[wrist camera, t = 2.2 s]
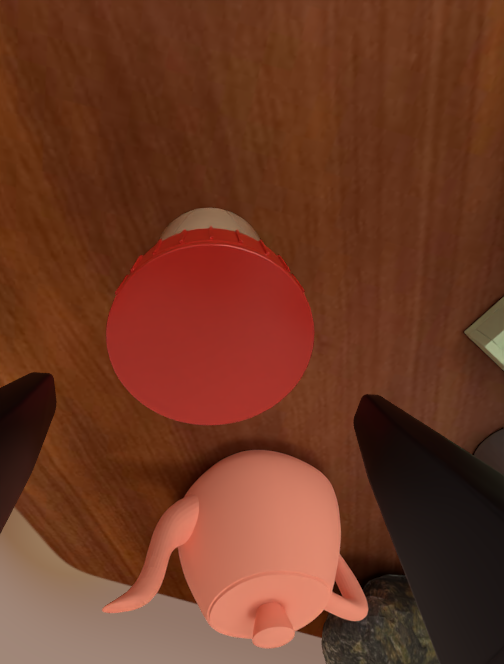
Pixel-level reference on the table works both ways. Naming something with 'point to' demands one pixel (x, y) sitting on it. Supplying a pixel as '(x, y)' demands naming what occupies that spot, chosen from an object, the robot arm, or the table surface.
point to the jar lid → (210, 328)
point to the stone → (381, 629)
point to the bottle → (492, 451)
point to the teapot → (254, 549)
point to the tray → (490, 333)
